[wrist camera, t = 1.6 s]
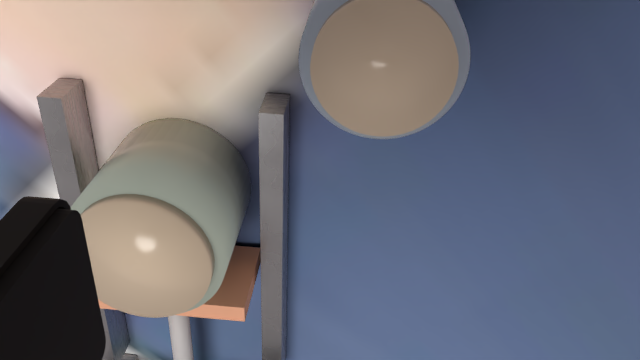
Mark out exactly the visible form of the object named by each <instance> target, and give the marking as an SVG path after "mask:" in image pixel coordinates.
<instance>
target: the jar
mask: <svg viewBox="0 0 640 360" xmlns="http://www.w3.org/2000/svg"><path fill="white" fill-rule="evenodd" d="M469 67H470V44H469V38H468V34H467V31H466V28H465V25H464V23H463V20H462V18H461V16H460V13H459V11H458V8H457V6H456V3H455V1H454V0H314V3H313V6H312V9H311V12H310V14H309V17H308V20H307V23H306V26H305V29H304V32H303V35H302V39H301V43H300V48H299V71H300V76H301V80H302V83H303V86H304V89H305V91H306V93H307V95H308V97H309V99H310V100H311V102H312V103H313V105H314V106H315V108H316V109H317V110H318V111H319V112H320V113H321V114H322V115H323V116H324V117H325V118H326V119H327V120H328V121H330V122H331V123H332V124H334V125H335V126H337V127H339V128H340V129H342V130H344V131H346V132H349V133H351V134H354V135H357V136H361V137H365V138H372V139H392V138H399V137H404V136H408V135H411V134H414V133H416V132H419V131H421V130H423V129H425V128H427V127H428V126H430V125H432V124H433V123H435V122H436V121H437V120H439V119H440V118H441V117H442V116H443V115H444V114H445V113H446V112H447V111H448V110H449V109H450V108H451V107H452V106H453V104H454V103H455V102H456V100H457V99H458V97H459V95H460V93H461V92H462V90H463V87H464V85H465V83H466V80H467V76H468V72H469Z"/></svg>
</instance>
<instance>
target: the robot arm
mask: <svg viewBox="0 0 640 360" xmlns="http://www.w3.org/2000/svg"><path fill="white" fill-rule="evenodd" d="M105 346H106V337H105V331H104V326H103V321H102V316H101V311H100V306H99V301H98V296H97V291H96V286H95V282H94V277H93V272H92V267H91V262H90V257H89V252H88V247H87V242H86V237H85V232H84V227H83V222H82V218H81V215H80V213H79V212H78V211H76V210H71V207H70V205H69V204H68V202H67V201H65V200H63V199H52V198H41V197H29V196H28V197H23V198H22V199H21V200H19V201H18V202H17V203H16V204H15V205H14V206H13V207H12V208H11V210H10V211H9V212H8V213H7V214H6V215H5V216H4V217H3V218H2V219H1V220H0V360H102V358H103V355H104V352H105Z"/></svg>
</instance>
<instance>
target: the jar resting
mask: <svg viewBox="0 0 640 360" xmlns="http://www.w3.org/2000/svg"><path fill="white" fill-rule="evenodd" d="M250 197H251V178H250V174H249V170H248V168H247V165H246V163H245V161H244V159H243V158H242V156H241V154H240V153H239V152H238V150H237V149H236V148H235V147H234V146H233V145H232V144H231V143H230V142H229V141H228V140H227V139H226V138H225V137H223V136H222V135H221V134H219V133H218V132H216V131H215V130H213V129H211V128H209V127H207V126H205V125H202V124H200V123H197V122H193V121H189V120H184V119H176V118H167V119H158V120H154V121H150V122H147V123H145V124H142V125H141V126H139V127H137V128H135V129H134V130H133V131H132V132H130V133H129V134H128V135H127V136H126V138H125V139H124V140H123V141H122V142H121V144H120V145H119V146H118V147H117V149H116V150H115V151H114V153H113V154H112V155H111V156H110V158H109V159H108V160H107V161H106V163H105V164H104V165H103V167H102V168H101V169H100V170H99V172H98V173H97V174H96V175H95V177H94V178H93V179H92V181H91V182H90V183H89V184H88V186H87V187H86V188H85V189H84V191H83V192H82V193H81V195H80V196H79V197H78V198H77V200H76V201H75V202H74V203H73V205H72V206H71V210H76V211H78V212H79V213H80V215H81V218H82V222H83V227H84V232H85V237H86V242H87V247H88V252H89V257H90V262H91V267H92V272H93V277H94V282H95V286H96V291H97V296H98V299H99V300H100V301H102V302H103V303H105V304H107V305H109V306H110V307H112V308H115V309H117V310H119V311H122V312H125V313H128V314H132V315H136V316H142V317H154V318H157V317H168V316H173V315H177V314H180V313H184V312H187V311H190V310H193V309H195V308H197V307H199V306H201V305H203V304H204V303H206V302H207V301H208V300H209V299H211V298H212V297H213V296H214V295H215V293H216V292H217V291H218V289H219V288H220V286H221V284H222V282H223V279H224V276H225V273H226V270H227V267H228V264H229V261H230V258H231V255H232V252H233V249H234V246H235V243H236V240H237V237H238V234H239V231H240V228H241V225H242V222H243V219H244V216H245V213H246V210H247V207H248V204H249V201H250Z"/></svg>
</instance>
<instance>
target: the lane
mask: <svg viewBox="0 0 640 360" xmlns="http://www.w3.org/2000/svg"><path fill="white" fill-rule="evenodd" d="M37 100H38V105H39V109H40V113H41V118H42V122H43V127H44V131H45V135H46V140H47V144H48V149H49V153H50V157H51V162H52V166H53V171H54V175H55V179H56V184H57V188H58V193H59V197H60V199H63V200H65V201H67V202H68V204H69V205H70V207H71V206H72V205H73V203H74V202H75V201H76V200H77V198H78V197H79V196H80V195H81V193H82V192H83V191H84V189H85V188H86V187H87V186H88V184H89V183H90V182H91V181H92V179H93V178H94V177H95V175H96V174H97V173H98V172H99V171H98V165H97V160H96V154H95V149H94V143H93V138H92V132H91V126H90V121H89V115H88V110H87V104H86V99H85V93H84V88H83V82H82V80H80V79H66V78H59V79H58V80H56V81H55V82H54V83H53V84H51V85H50V86H49V87H48V88H47V89H45V90H44V91H43V92H42V93H41V94H39V95H38V96H37ZM289 129H290V94H276V93H266V95H265V98H264V100H263V103H262V105H261V108H260V110H259V179H260V246H261V312H262V360H286V324H287V259H288V194H289ZM100 311H101V316H102V321H103V326H104V331H105V337H106V346H105V352H104V355H103V358H102V360H138V359H137V355H131V354H124V353H125V351H126V349H127V347H128V345H129V343H130V342H129V336H128V331H127V325H126V320H125V314H124V312H122V311H119V310H112V309H101V308H100Z"/></svg>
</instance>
